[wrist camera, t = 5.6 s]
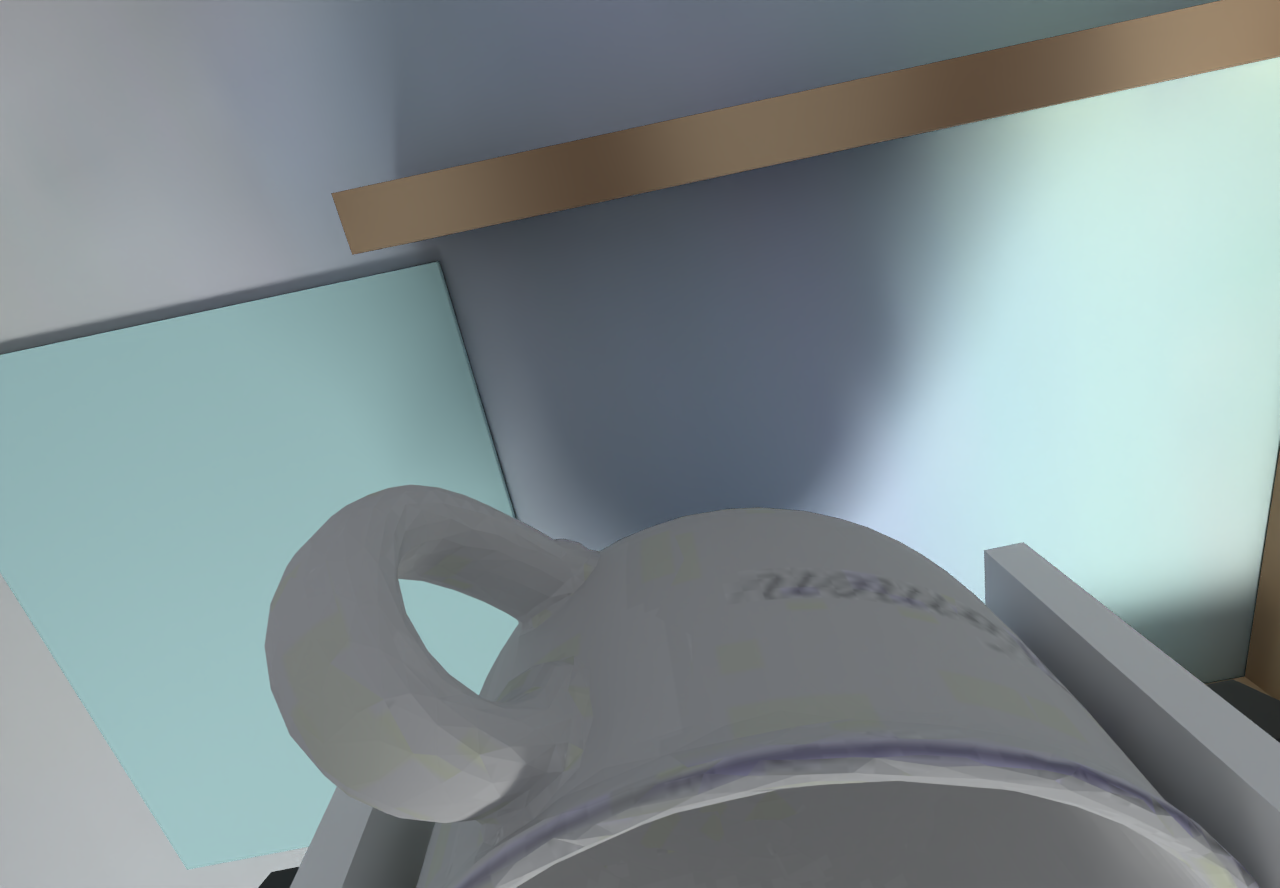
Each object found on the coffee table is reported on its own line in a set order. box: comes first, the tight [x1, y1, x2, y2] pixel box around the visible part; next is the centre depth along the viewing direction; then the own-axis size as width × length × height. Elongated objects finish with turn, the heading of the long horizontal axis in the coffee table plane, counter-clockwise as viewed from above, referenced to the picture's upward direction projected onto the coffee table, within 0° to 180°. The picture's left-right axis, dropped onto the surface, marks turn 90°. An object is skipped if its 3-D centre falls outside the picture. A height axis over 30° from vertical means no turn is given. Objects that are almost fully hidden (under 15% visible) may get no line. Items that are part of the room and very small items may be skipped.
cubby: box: [331, 0, 1280, 700], centre depth 16 cm, size 22×19×4 cm
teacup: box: [264, 484, 1259, 888], centre depth 11 cm, size 14×11×8 cm
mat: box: [0, 261, 519, 870], centre depth 18 cm, size 13×16×1 cm
